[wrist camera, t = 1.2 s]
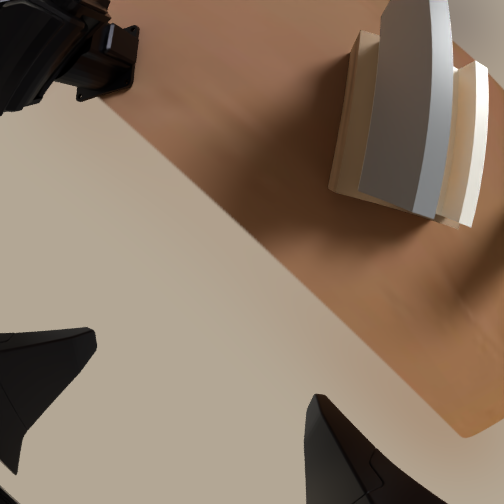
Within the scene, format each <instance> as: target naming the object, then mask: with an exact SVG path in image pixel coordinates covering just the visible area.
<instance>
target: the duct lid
mask: <svg viewBox="0 0 504 504" xmlns="http://www.w3.org/2000/svg"><path fill="white" fill-rule="evenodd" d="M452 100H453V48H452V33H451V23H450V14H449V7H448V0H390V2H389V3H388V5H387V7H386V9H385V10H384V12H383V14H382V16H381V27H380V44H379V57H378V69H377V78H376V87H375V95H374V103H373V110H372V117H371V124H370V130H369V136H368V142H367V148H366V153H365V158H364V164H363V169H362V174H361V179H360V183H359V188H358V191H359V192H362V193H365V194H368V195H370V196H373V197H376V198H378V199H381V200H384V201H386V202H389V203H391V204H394V205H396V206H399V207H401V208H404V209H406V210H408V211H411V212H413V213H417V214H420V215H423V216H426V217H429V218H432V219H434V217H435V213H436V209H437V205H438V200H439V196H440V191H441V186H442V181H443V176H444V170H445V164H446V158H447V151H448V144H449V136H450V127H451V115H452Z"/></svg>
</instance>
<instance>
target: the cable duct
mask: <svg viewBox="0 0 504 504" xmlns="http://www.w3.org/2000/svg"><path fill="white" fill-rule="evenodd" d="M379 44H380V41H379ZM378 57H379V53H378ZM377 69H378V64H377ZM376 78H377V74H376ZM375 87H376V84H375ZM374 95H375V92H374ZM373 103H374V100H373ZM372 110H373V107H372ZM371 117H372V114H371ZM370 124H371V121H370ZM487 127H488V70H487V68H486V67H484V66H483V65H482V64H480V63H478V62H477V61H474V62H472V63H470V64H468V65H466V66H464V67H462V68H460V69H457V68H455V67H453V100H452V115H451V127H450V136H449V144H448V151H447V158H446V164H445V170H444V176H443V181H442V186H441V191H440V196H439V200H438V205H437V209H436V213H435V214H438V215H441V216H444V217H446V218H449V219H451V220H454V221H456V222H458V223H461V224H464V225H466V226H469V227H471V226H472V222H473V218H474V214H475V210H476V205H477V201H478V196H479V191H480V185H481V179H482V173H483V166H484V159H485V151H486V141H487ZM369 130H370V127H369ZM368 136H369V133H368ZM367 142H368V139H367ZM366 148H367V145H366ZM365 153H366V151H365ZM364 158H365V156H364ZM363 164H364V161H363ZM362 169H363V167H362ZM361 174H362V172H361ZM360 179H361V176H360ZM359 183H360V181H359ZM358 188H359V186H358Z"/></svg>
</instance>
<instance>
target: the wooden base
mask: <svg viewBox="0 0 504 504" xmlns="http://www.w3.org/2000/svg"><path fill="white" fill-rule="evenodd" d="M379 41H380V36H379V35H376V34H373V33H370V32H366V31H363V30H360V33H359V35H358V37H357V39H356V41H355V43H354V45H353V47H352V50H351V52H350V59H349V67H348V74H347V81H346V88H345V95H344V102H343V108H342V114H341V120H340V126H339V132H338V138H337V143H336V148H335V154H334V159H333V164H332V169H331V174H330V179H329V184H328V189H330V190H331V191H333V192H335V193H338V194H342V195H346V196H350V197H354V198H358V199H361V200H365V201H369V202H373V203H376V204H380V205H383V206H387V207H390V208H394V209H397V210H400V211H404V212H407V213H410V214H414V215H417V216H420V217H423V218H426V219H429V220H432V221H435V222H438V223H441V224H444V225H447V226H450V227H453V228H456V229H459V226H460V223H458V222H456V221H454V220H451V219H449V218H446V217H444V216H441V215H438V214H435V217H434V219H432V218H429V217H426V216H423V215H420V214H417V213H413V212H411V211H408V210H406V209H404V208H401V207H399V206H396V205H394V204H391V203H389V202H386V201H384V200H381V199H378V198H376V197H373V196H370V195H368V194H365V193H362V192H359V191H358V186H359V181H360V176H361V172H362V167H363V161H364V156H365V151H366V145H367V139H368V133H369V127H370V121H371V114H372V107H373V100H374V92H375V84H376V74H377V64H378V53H379Z"/></svg>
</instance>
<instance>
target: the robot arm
mask: <svg viewBox="0 0 504 504" xmlns="http://www.w3.org/2000/svg"><path fill="white" fill-rule="evenodd" d="M109 4H110V0H0V116H2V114H3V112H15V111H20V110H22V109H23V107H25V106H29V105H33V104H37V103H39V102H40V101H41V100H42V98H43V95H44V94H45V92H46V91H47V89H48V88H49V86H50V85H51V84H52V82H53V81H55V82H60V83H64V84H68V85H72V86H76V87H77V95H76V100H77V101H79V102H83V101H85V100H88V99H91V98H95V97H98V96H101V95H104V94H108V93H111V92H115V91H118V90H122V89H126V88H129V87H131V86H132V84H133V80H134V69H135V63H136V58H137V50H138V42H139V39H138V37H139V30H140V29H139V27H138V26H136V25H133V26H130V27H127V28H124V29H122V28H121V27H119V26H117V25H116V24H114V23H111V24H109V23H108V21H109V20H110V19H111V17H110V15H109V14H108V11H107V10H108V9H107V8H108V6H109ZM134 29H135V30H134ZM133 30H134V31H133ZM128 80H129V81H128ZM127 81H128V83H127V84H126V82H127ZM81 95H82V97H81ZM96 348H97V342H96V335H95V332H94V330H92V329H90V328H88V327H83V328H74V329H73V328H72V329H62V330H51V331H37V332H23V333H0V461H1V462H2V463H3V464H4V465H5V466H6V467H7V468H8V469H9V470H10V471H11V472H12V473H13V474H15V475H17V472H18V463H19V457H20V451H21V445H22V440H23V437H24V435H25V434H26V432H27V430H29V428H30V427H31V426H32V425H33V424H34V423H35V422H36V420H37V419H38V418H39V417H40V416H41V415H42V414H43V413H44V411H45V410H46V409H47V408H48V407H49V406H50V405H51V403H52V402H53V401H54V400H55V399H56V398H57V397H58V396H59V395H60V394H61V393H62V391H63V390H64V389H65V388H66V387H67V386H68V385H69V384H70V383H71V382H72V381H73V380H74V378H75V377H76V376H77V375H78V374H79V373H80V372H81V370H82V369H83V368H84V366H85V365H86V364H87V362H88V361H89V359H90V358H91V357H92V355H93V354H94V352H95V351H96ZM304 456H305V475H306V476H305V477H306V504H447V503H446V502H444V501H443V500H441V499H440V498H438V497H437V496H436V495H434V494H432V493H431V492H430V491H429V490H427V489H426V488H424V487H423V486H422V485H420V484H419V483H418V482H416V481H415V480H414V479H412V478H411V477H410V476H408V475H407V474H406V473H404V472H403V471H402V470H400V469H399V468H398V467H397V466H396V465H394V464H393V463H392V462H391V461H390V460H389V459H387V458H386V457H385V456H384V455H383V454H382V453H381V452H380V451H379V450H378V449H377V448H376V449H375V446H374V445H373V444H372V443H371V442H370V441H369V440H368V439H367V438H366V437H365V436H364V435H363V434H362V433H361V432H360V431H359V430H358V429H357V428H356V427H355V426H354V425H353V424H352V423H351V422H350V421H349V420H348V419H347V418H346V417H345V416H344V415H343V414H342V412H341V411H340V410H339V409H338V408H337V407H336V406H335V405H334V404H333V403H332V402H331V401H330V400H329V399H328V398H327V396H325V395H322V394H314V396H313V398H312V400H311V402H310V404H309V406H308V408H307V412H306V424H305V435H304ZM0 504H20V503H19V502H18V501H17V500H15V499H14V498H13V497H12V496H11V495H10V494H9V493H8V492H7V491H5V490H4V489H3V488H2V487H1V486H0Z"/></svg>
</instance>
